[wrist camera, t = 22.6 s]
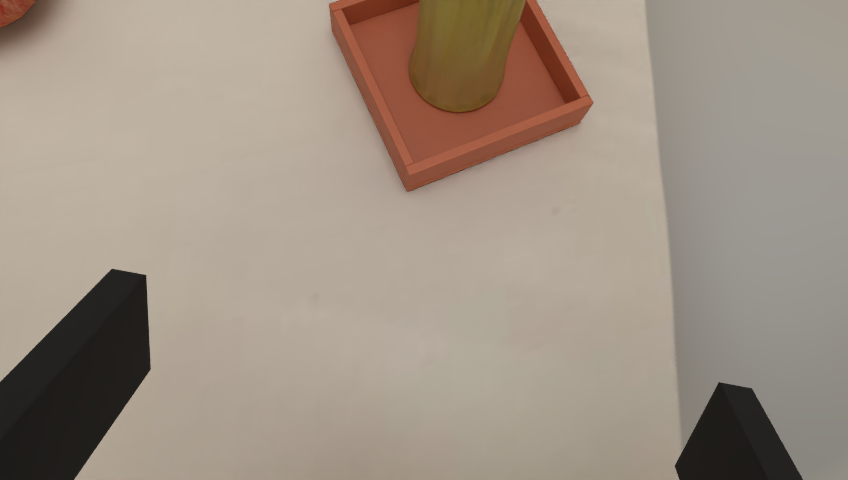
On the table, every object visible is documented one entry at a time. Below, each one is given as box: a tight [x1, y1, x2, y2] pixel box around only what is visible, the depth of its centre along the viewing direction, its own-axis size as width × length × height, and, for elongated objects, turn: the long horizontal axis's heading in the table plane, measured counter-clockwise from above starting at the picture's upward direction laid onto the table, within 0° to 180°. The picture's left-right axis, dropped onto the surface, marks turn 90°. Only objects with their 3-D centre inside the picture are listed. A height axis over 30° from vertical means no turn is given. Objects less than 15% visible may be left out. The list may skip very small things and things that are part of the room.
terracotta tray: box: [329, 0, 593, 191], centre depth 40 cm, size 12×12×3 cm
